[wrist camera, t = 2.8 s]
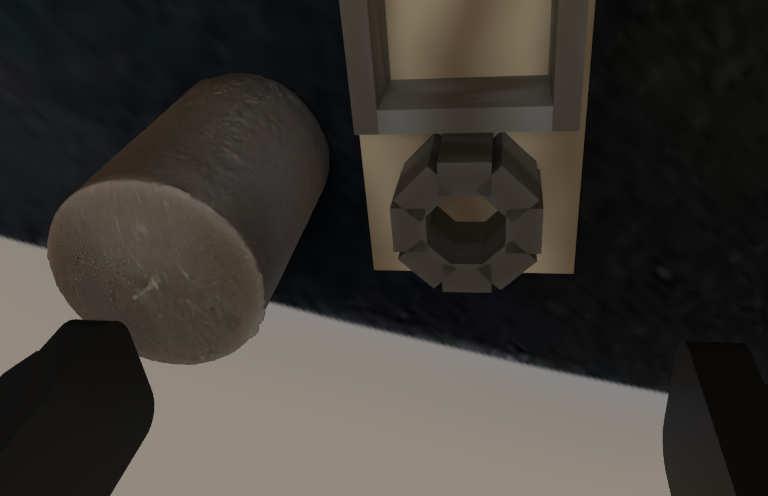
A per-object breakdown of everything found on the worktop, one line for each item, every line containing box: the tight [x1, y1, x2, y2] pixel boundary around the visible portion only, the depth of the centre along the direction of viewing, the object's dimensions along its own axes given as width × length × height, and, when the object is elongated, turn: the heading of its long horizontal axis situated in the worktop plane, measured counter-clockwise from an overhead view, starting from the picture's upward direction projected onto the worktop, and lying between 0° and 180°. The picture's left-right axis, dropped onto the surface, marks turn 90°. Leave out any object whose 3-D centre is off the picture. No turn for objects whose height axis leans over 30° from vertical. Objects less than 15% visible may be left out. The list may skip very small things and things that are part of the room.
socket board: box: [339, 0, 595, 293], centre depth 33 cm, size 12×23×6 cm, turn 5°
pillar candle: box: [47, 73, 330, 365], centre depth 33 cm, size 10×10×15 cm
